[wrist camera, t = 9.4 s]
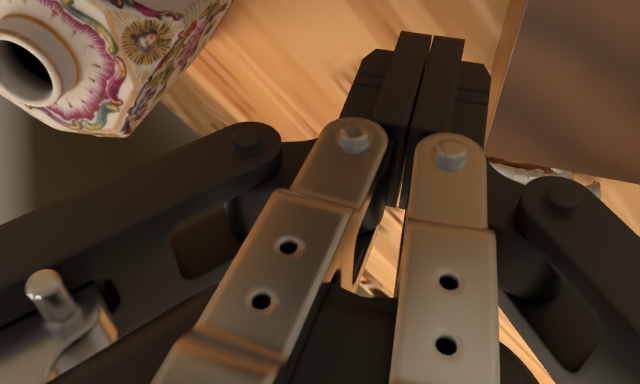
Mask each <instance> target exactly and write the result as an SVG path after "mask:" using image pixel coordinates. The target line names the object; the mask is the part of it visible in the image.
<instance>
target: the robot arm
mask: <svg viewBox="0 0 640 384" xmlns="http://www.w3.org/2000/svg"><path fill="white" fill-rule="evenodd" d="M431 38H432V35H428V34H420V33H413V32H406V31H401V33H400V36H399V39H398V42H397V45H396V47H395V50H394V51H389V50H382V49H375V50H374V51H372V52H371V53H370V54H369V55H367V56H366V57H365V58H363V60H362V62H361V65H360V67H359V70H358V73H357V75H356V77H355V80H354V82H353V85H352V87H351V89H350V92H349V94H348V97H347V99H346V102H345V104H344V107H343V109H342V112H341V114H340V117H339V119H337V120H335V121H332V122H331V123H329V124H328V125H326V126H325V127H324V129H323V130H322V132H321V133H320V135H319V137H318V138H316V139H312V140H308V141H297V142H281V137H280V135H279V133H278V132H277V131H276V130H275V129H274V128H272V127H271V126H269V125H266V124H264V123H259V122H240V123H236V124H233V125H230V126H228V127H225V128H223V129H221V130H219V131H216V132H214V133H212V134H209V135H207V136H205V137H202V138H200V139H198V140H196V141H193V142H191V143H189V144H186V145H184V146H182V147H179V148H177V149H175V150H172V151H170V152H168V153H166V154H163V155H161V156H159V157H156V158H154V159H152V160H150V161H147V162H145V163H143V164H140V165H138V166H136V167H133V168H131V169H129V170H126V171H124V172H122V173H119V174H117V175H115V176H113V177H110V178H108V179H106V180H103V181H101V182H99V183H96V184H94V185H92V186H90V187H87V188H85V189H83V190H81V191H78V192H76V193H73V194H71V195H69V196H67V197H64V198H62V199H60V200H57V201H55V202H53V203H51V204H48V205H46V206H44V207H41V208H39V209H37V210H34V211H32V212H30V213H28V214H25V215H23V216H20V217H18V218H16V219H13V220H11V221H9V222H7V223H4V224H2V225H0V384H539V382H538V381H537V379H536V378H535V377H534V375H533V374H532V372H531V371H530V370H529V369H528V368H527V366H526V365H525V364H524V363H523V362H522V361H521V360H520V358H519V357H517V356H516V355H515V354H514V353H513V352H512V351H511V350H510V349H509V348H508V347H506V346H505V345H504V344H502V343H501V342H500V341H499V321H498V306H499V307H500V308H501V310H502V311H503V312H504V314H505V315H506V316H507V318H508V319H509V321H510V322H511V323H512V325H513V326H514V327H515V329H516V330H517V331H518V333H519V334H520V335H521V337H522V338H523V339H524V341H525V342H526V343H527V345H528V346H529V347H530V349H531V350H532V351H533V353H534V354H535V356H536V357H537V358H538V360H539V361H540V362H541V364H542V365H543V366H544V368H545V369H546V370H547V372H548V373H549V374H550V376H551V377H552V378H553V380H554V381H555V382H556V384H640V237H639V236H638V235H637V234H636V233H635V232H633V231H632V230H631V229H630V228H629V227H628V226H627V225H626V224H625V223H624V222H623V221H622V220H621V219H620V218H619V217H618V216H617V215H616V214H614V213H613V212H612V211H611V210H610V209H609V208H608V207H607V206H606V205H605V204H604V203H603V202H602V201H601V200H600V199H599V198H598V197H597V196H595V195H594V194H593V193H592V192H591V191H590V190H589V189H588V188H586V187H585V186H583V185H582V184H580V183H578V182H576V181H573V180H571V179H568V178H564V177H558V176H542V177H538V178H535V179H533V180H531V181H530V182H528V183H527V184H526V185H524V184H521V183H519V182H517V181H514V180H512V179H510V178H508V177H506V176H504V175H502V174H501V173H499V172H498V171H497V170H496V169H494V168H493V167H492V165H491V164H490V163H489V162H488V160H487V158H486V155H485V152H484V143H485V134H486V124H487V115H488V105H489V97H490V95H489V94H490V87H491V76H490V74H489V73H488V71H487V69H486V67H485V66H484V64H479V63H473V62H466V61H461V59H462V54H463V48H464V43H465V39H458V38H450V37H443V36H436V35H434V38H433V42H432V46H431ZM430 46H431V50H430ZM429 52H430V54H429ZM402 180H403V182H402ZM401 184H402V189H401V196H400V202H399V208H400V209H405V216H404V223H403V228H402V234H401V241H400V249H399V257H398V265H397V273H396V281H395V289H394V297H393V298H366V297H361V296H358V295H356V294H355V292H356V290H357V287H358V284H359V282H360V279H361V276H362V274H363V271H364V268H365V266H366V263H367V260H368V258H369V255H370V252H371V250H372V247H373V244H374V242H375V239H376V236H377V233H378V227H379V223H380V222H381V220H382V217H383V213H384V209H385V206H389V207H394V208H396V204H397V200H398V196H399V192H400V188H401ZM222 203H224V207H225V208H224V209H222V210H220V211H218V212H216V213H214V214H212V215H210V216H208V217H206V218H204V219H202V220H200V221H198V222H196V223H194V224H192V225H190V226H188V227H186V228H184V229H182V230H180V231H178V232H176V233H174V234H173V232H174V231H175V229H176V228H177V227H178V226H180V225H181V224H182V223H184V222H186V221H188V220H190V219H192V218H194V217H196V216H198V215H200V214H202V213H204V212H206V211H208V210H210V209H212V208H214V207H216V206H218V205H220V204H222ZM219 281H221V282H220V283H218V284H215V283H217V282H219ZM214 284H215V285H214ZM158 315H159V316H158ZM153 318H154V319H153ZM151 319H152V320H151ZM150 320H151V321H150ZM148 321H149V322H148ZM146 322H147V323H146ZM144 323H146V324H144ZM142 324H144V325H143V326H141V325H142ZM139 326H141V327H139ZM137 327H139V328H137ZM135 328H137V329H136V330H134V329H135ZM132 330H134V331H132ZM130 331H132V332H131V333H129V334H127V335H126V336H124V337H122V338H121V339H119V340H117V339H118V338H119V337H121V336H123V335H125V334H126V333H128V332H130Z"/></svg>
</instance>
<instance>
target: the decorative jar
mask: <svg viewBox="0 0 640 384" xmlns="http://www.w3.org/2000/svg"><path fill="white" fill-rule="evenodd" d="M232 1H233V0H0V94H1V95H2V96H4V97H5V98H7V99H8V100H10V101H11V102H13V103H15V104H16V105H17V106H18V107H20V108H22V109H23V110H24V111H26V112H27V113H28V114H30V115H31V116H33V117H35V118H37V119H39V120H40V121H42V122H44V123H45V124H47V125H49V126H51V127H53V128H55V129H58V130H62V131H71V132H77V133H83V134H91V135H94V136H99V137H103V136H105V137H127V136H129V135H130V134H131V133H132V132H133V130H134V129H135V128H136V127H137V126H138V125H139V123H140V122H141V121H142V120H143V119H144V117H145V116H146V115H147V114H148V113H149V112H150V111H151V110H152V108H153V107H154V106H155V105H156V103H157V102H158V101H159V100H160V99H161V98H162V97H163V96H164V95H165V94H166V92H167V91H168V90H169V89H170V88H171V87H172V86H173V85H174V84H175V83H176V82H177V80H178V79H179V78H180V76H181V75H182V74H183V73H184V72H185V71H186V70H187V68H188V67H189V66H190V65H191V63H192V62H193V61H194V60H195V58H196V57H197V56H198V54H199V53H200V52H201V50H202V49H203V48H204V46H205V45H206V44H207V42H208V40H209V39H210V37H211V35H212V33H213V32H214V30H215V29H216V27H217V26H218V24H219V22H220V21H221V19H222V18H223V16H224V15H225V13H226V11H227V10H228V8H229V6H230V4H231V3H232Z"/></svg>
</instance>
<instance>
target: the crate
mask: <svg viewBox="0 0 640 384" xmlns="http://www.w3.org/2000/svg"><path fill="white" fill-rule="evenodd" d="M489 95H490V97H489V105H488V115H487V124H486V134H485V143H484V152H485V155H486V156H490V157H495V158H501V159H506V160H511V161H517V162H522V163H527V164H533V165H538V166H543V167H549V168H554V169H559V170H565V171H570V172H575V173H581V174H586V175H591V176H597V177H602V178H607V179H613V180H618V181H623V182H629V183H634V184H639V185H640V0H510V4H509V8H508V11H507V15H506V19H505V22H504V26H503V30H502V33H501V37H500V41H499V44H498V48H497V52H496V55H495V59H494V63H493V67H492V70H491V87H490V94H489Z"/></svg>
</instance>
